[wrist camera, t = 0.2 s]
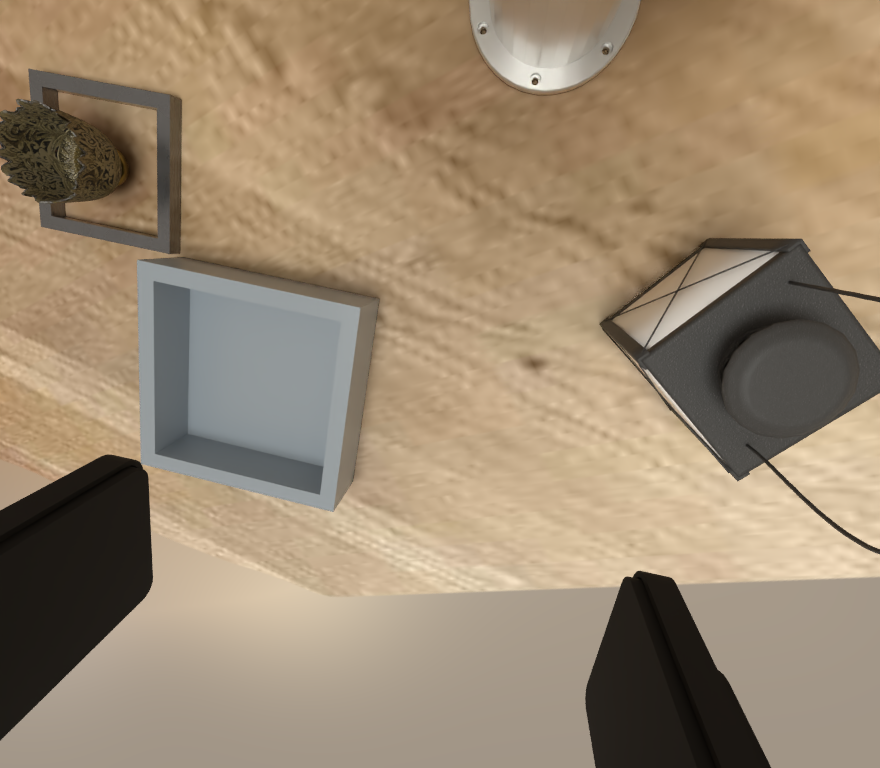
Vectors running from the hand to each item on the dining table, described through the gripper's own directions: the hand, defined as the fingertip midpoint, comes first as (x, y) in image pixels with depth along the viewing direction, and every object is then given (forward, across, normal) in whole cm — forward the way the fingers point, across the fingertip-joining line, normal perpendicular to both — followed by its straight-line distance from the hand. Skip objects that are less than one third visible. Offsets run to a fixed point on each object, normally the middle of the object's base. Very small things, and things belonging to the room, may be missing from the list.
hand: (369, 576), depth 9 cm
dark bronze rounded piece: (+37, +36, -7) cm, 52 cm away
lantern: (+37, -18, -1) cm, 41 cm away
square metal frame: (+36, +36, -7) cm, 52 cm away
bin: (+36, +20, +10) cm, 43 cm away
